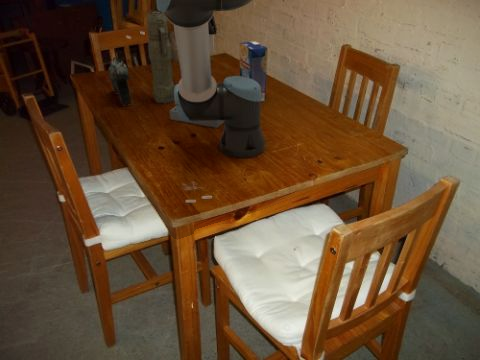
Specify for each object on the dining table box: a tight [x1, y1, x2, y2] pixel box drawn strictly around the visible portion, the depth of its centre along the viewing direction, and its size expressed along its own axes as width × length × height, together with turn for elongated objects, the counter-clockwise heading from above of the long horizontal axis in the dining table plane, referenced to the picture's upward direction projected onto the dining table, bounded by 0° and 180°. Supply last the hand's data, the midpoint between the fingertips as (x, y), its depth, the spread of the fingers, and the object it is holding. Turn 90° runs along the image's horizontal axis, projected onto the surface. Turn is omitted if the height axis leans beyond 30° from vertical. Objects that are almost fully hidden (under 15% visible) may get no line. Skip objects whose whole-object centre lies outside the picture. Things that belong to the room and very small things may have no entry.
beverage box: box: [239, 40, 268, 102], centre depth 172 cm, size 7×11×22 cm, turn 26°
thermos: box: [146, 10, 176, 105], centre depth 166 cm, size 9×12×35 cm
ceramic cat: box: [108, 52, 132, 106], centre depth 170 cm, size 20×6×20 cm, turn 25°
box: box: [169, 105, 225, 129], centre depth 163 cm, size 20×20×4 cm
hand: (202, 57), depth 151 cm, fingers open, 13 cm apart
